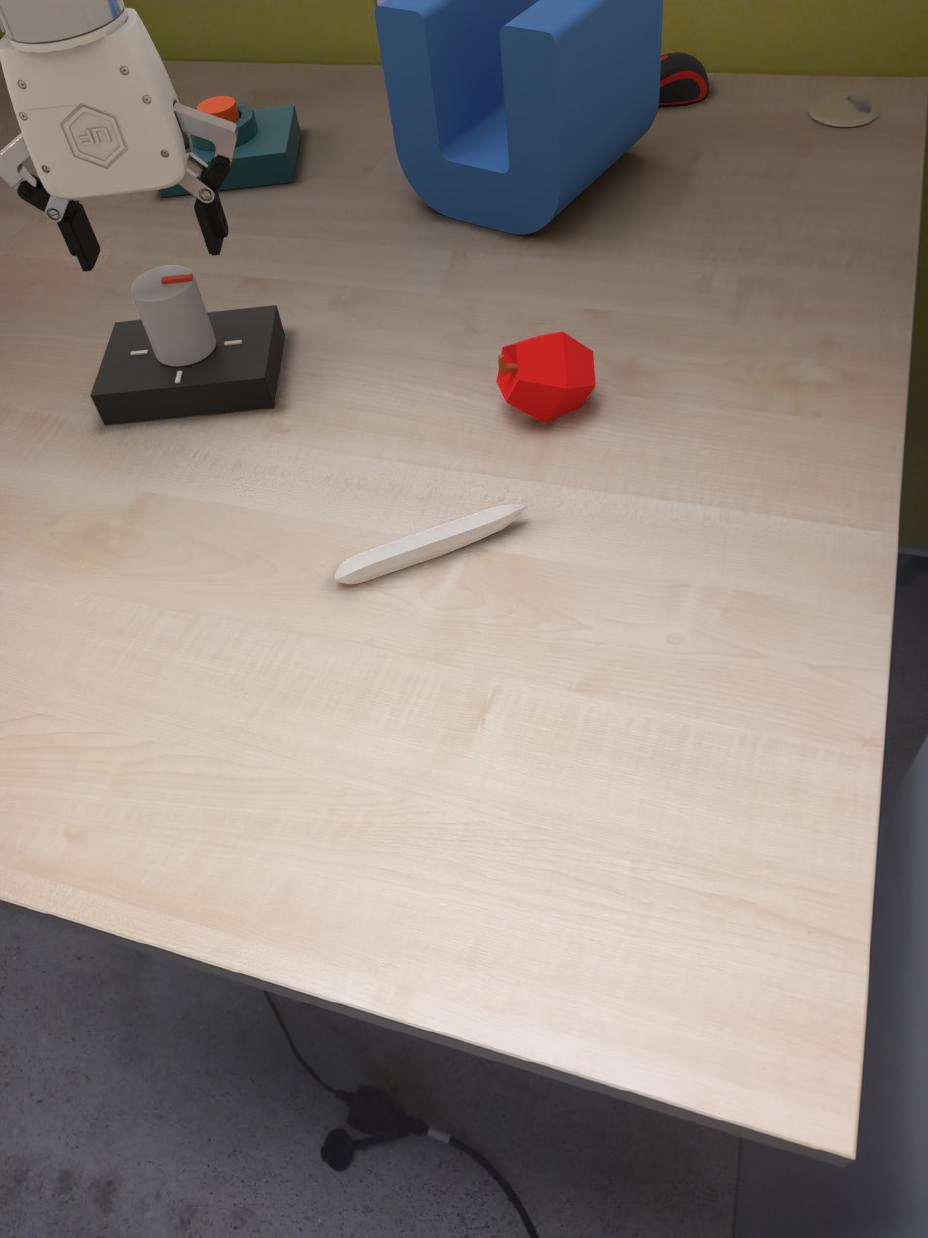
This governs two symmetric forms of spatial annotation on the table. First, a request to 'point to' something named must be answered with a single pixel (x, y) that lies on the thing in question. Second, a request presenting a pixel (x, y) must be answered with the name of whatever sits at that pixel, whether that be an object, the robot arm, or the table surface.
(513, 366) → the apple
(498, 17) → the block
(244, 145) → the teal button box
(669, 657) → the table surface
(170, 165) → the robot arm
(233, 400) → the dial panel
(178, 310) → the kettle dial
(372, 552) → the pen
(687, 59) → the computer mouse
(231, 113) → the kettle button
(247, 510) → the table surface
